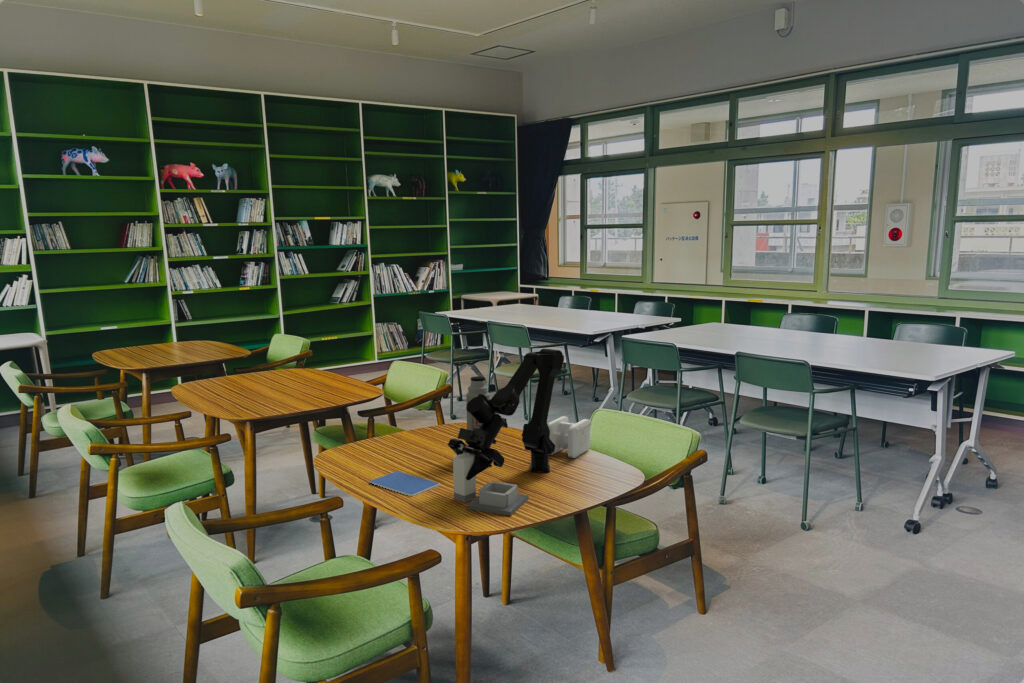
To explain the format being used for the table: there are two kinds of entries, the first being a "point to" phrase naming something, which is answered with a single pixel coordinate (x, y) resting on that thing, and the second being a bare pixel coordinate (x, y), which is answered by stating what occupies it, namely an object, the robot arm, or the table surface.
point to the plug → (463, 478)
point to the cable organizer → (570, 436)
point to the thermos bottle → (474, 391)
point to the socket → (498, 499)
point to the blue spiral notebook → (405, 483)
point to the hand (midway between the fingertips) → (461, 477)
